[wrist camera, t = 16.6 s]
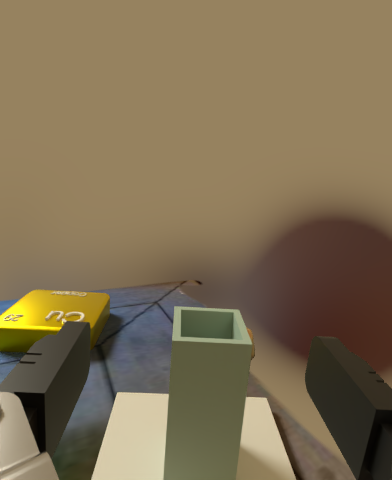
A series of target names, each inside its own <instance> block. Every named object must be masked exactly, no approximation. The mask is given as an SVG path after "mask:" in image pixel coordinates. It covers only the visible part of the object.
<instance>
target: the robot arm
mask: <svg viewBox="0 0 392 480" xmlns="http://www.w3.org/2000/svg"><path fill="white" fill-rule="evenodd" d="M90 332H91V328H90V323H89V322H78V321H66V322H65V324H64V325H63V326H62V328H61V329H60V330H59V332H58V333H57V334H56V335H47V336H45V337H43V338H42V339H40V340H38V341H37V342H35V343H34V344H33V346H32V347H31V348H30V349H29V350H28V352H27V354H26V355H24V356H23V358H22V359H21V360H20V362H19V363H18V364H17V365H16V366H15V367H14V368H13V370H12V371H11V372H10V373H9V375H8V376H7V377H6V378H5V379H4V381H3V382H2V383H1V384H0V480H59V478H58V476H57V473H56V471H55V468H54V466H53V463H52V461H51V459H52V457H53V455H54V453H55V450H56V448H57V446H58V444H59V441H60V439H61V437H62V435H63V432H64V430H65V428H66V426H67V423H68V421H69V419H70V417H71V414H72V412H73V410H74V408H75V405H76V403H77V401H78V399H79V396H80V394H81V392H82V390H83V387H84V385H85V383H86V380H87V377H88V373H89V367H90ZM305 382H306V388H307V391H308V393H309V395H310V397H311V399H312V401H313V402H314V404H315V406H316V408H317V410H318V411H319V413H320V415H321V417H322V419H323V420H324V422H325V424H326V426H327V428H328V429H329V431H330V433H331V435H332V436H333V438H334V440H335V442H336V444H337V446H338V447H339V449H340V451H341V453H342V455H343V456H344V458H345V460H346V462H347V464H348V465H349V467H350V469H351V471H352V473H353V474H354V476H355V478H356V480H392V389H391V388H390V387H389V386H388V384H387V383H384V380H383V379H382V378H381V377H380V376H379V375H378V374H376V372H375V371H374V370H373V368H372V367H370V365H368V363H367V362H366V361H364V360H363V359H361V358H360V357H358V356H357V355H355V354H354V353H352V352H349V350H348V349H347V348H346V347H345V346H344V345H343V344H342V343H341V342H340V340H339V339H338V338H335V337H319V336H318V337H317V336H315V337H314V338H313V340H312V343H311V348H310V353H309V358H308V363H307V368H306V373H305Z"/></svg>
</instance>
